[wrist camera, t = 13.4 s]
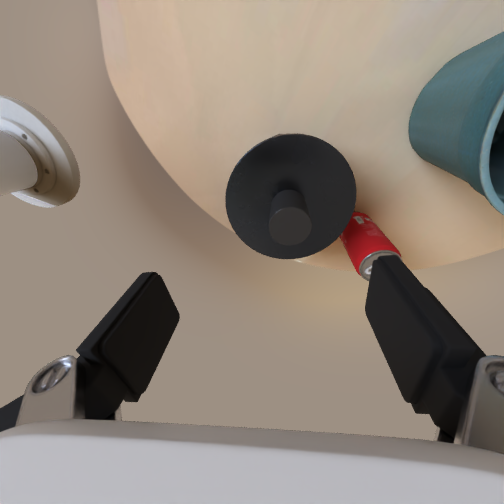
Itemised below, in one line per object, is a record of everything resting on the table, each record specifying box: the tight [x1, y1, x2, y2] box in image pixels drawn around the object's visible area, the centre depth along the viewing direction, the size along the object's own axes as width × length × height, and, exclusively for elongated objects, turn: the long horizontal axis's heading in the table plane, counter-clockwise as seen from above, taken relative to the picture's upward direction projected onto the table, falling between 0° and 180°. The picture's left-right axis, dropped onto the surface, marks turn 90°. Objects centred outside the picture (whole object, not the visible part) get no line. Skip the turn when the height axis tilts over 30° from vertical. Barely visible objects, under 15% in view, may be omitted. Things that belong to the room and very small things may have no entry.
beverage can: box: [340, 212, 402, 281], centre depth 31 cm, size 5×5×12 cm
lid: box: [226, 134, 356, 259], centre depth 23 cm, size 15×15×7 cm
